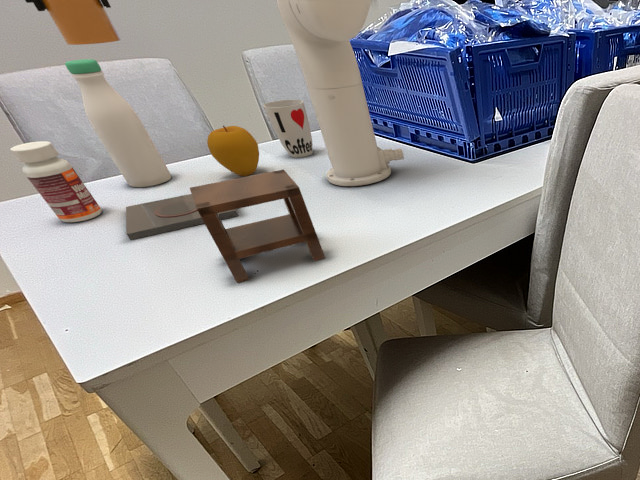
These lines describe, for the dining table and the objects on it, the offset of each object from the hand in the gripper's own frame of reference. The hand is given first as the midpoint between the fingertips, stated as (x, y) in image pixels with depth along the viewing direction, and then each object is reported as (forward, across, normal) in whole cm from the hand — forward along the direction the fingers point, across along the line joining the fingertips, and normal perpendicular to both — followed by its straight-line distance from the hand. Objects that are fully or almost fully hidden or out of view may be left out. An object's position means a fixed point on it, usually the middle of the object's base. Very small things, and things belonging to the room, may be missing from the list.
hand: (75, 7), depth 58 cm
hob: (+28, -1, +4) cm, 28 cm away
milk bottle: (+28, -5, +28) cm, 39 cm away
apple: (+28, +12, +20) cm, 36 cm away
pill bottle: (+28, -16, +14) cm, 35 cm away
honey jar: (+4, 0, 0) cm, 4 cm away
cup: (+28, +25, +27) cm, 46 cm away
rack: (+28, +8, -25) cm, 38 cm away
